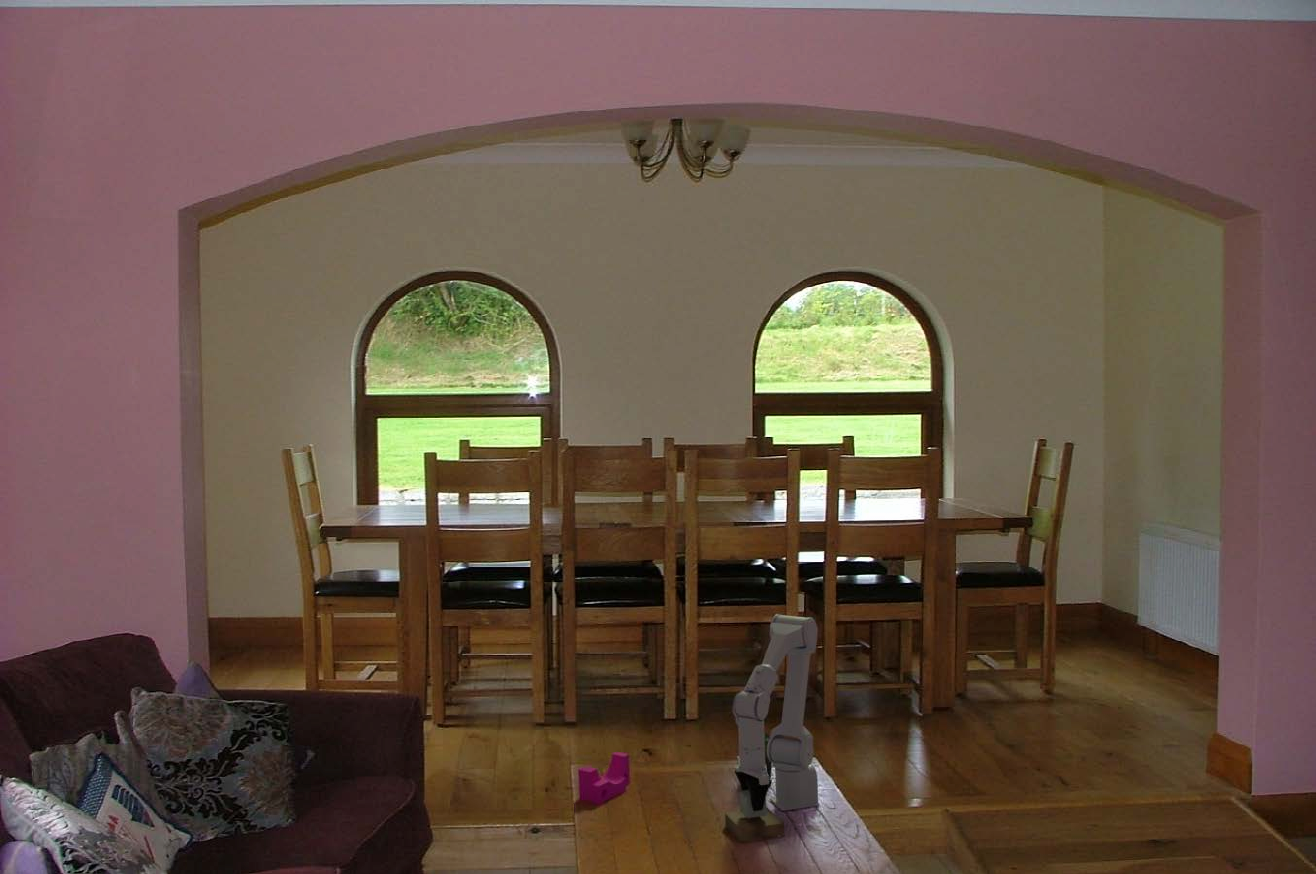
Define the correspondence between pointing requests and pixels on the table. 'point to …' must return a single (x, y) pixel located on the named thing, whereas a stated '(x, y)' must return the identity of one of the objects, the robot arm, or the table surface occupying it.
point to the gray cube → (749, 805)
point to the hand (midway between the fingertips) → (753, 806)
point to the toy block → (604, 780)
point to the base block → (754, 826)
